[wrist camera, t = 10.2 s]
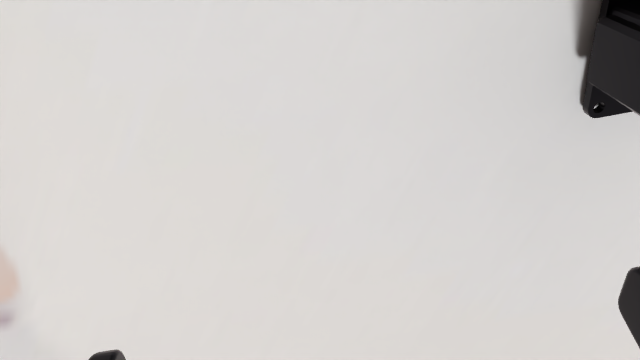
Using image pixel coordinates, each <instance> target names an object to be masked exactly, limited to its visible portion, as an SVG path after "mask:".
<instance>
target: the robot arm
mask: <svg viewBox="0 0 640 360" xmlns="http://www.w3.org/2000/svg"><path fill="white" fill-rule="evenodd" d="M597 103H599V105H598V106H597V107H596V108H595V109H594V107H595V105H596V104H597ZM583 110H584V112H585V113H586V114H587V115H589V116H590V117H592V118H600V117H605V116H611V115H616V114H622V113H627V112H635V113H637V114H638V115H640V0H602V5H601V10H600V15H599V21H598V23H597V25H596V30H595V36H594V41H593V47H592V52H591V58H590V63H589V69H588V74H587V86H586V92H585V97H584V103H583ZM618 305H619V309H620V312H621V314H622V316H623V318H624V320H625V322H626V324H627V326H628V328H629V329H630V331H631V333H632V335H633V337H634V339H635V341H636V343H637V344H638V346H639V348H640V267H635V268H632V269H631V270H629V271H628V273H627V276H626V279H625V281H624V284H623V287H622V290H621V293H620V296H619V299H618ZM89 360H126V359H125V357H124V355H123V353H122V352H121V351H120V350H110V351H103V352H98V353H96V354H94V355H93V356H91V357H90V359H89Z"/></svg>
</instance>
